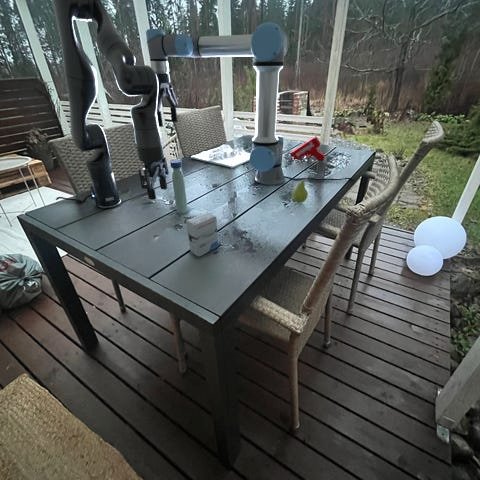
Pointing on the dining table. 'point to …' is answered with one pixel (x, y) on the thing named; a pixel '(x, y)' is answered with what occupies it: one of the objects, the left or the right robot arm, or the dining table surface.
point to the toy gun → (309, 150)
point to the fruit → (300, 192)
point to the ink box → (202, 233)
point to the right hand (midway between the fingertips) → (167, 124)
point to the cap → (176, 164)
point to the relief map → (224, 156)
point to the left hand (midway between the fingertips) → (158, 193)
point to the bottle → (179, 191)
